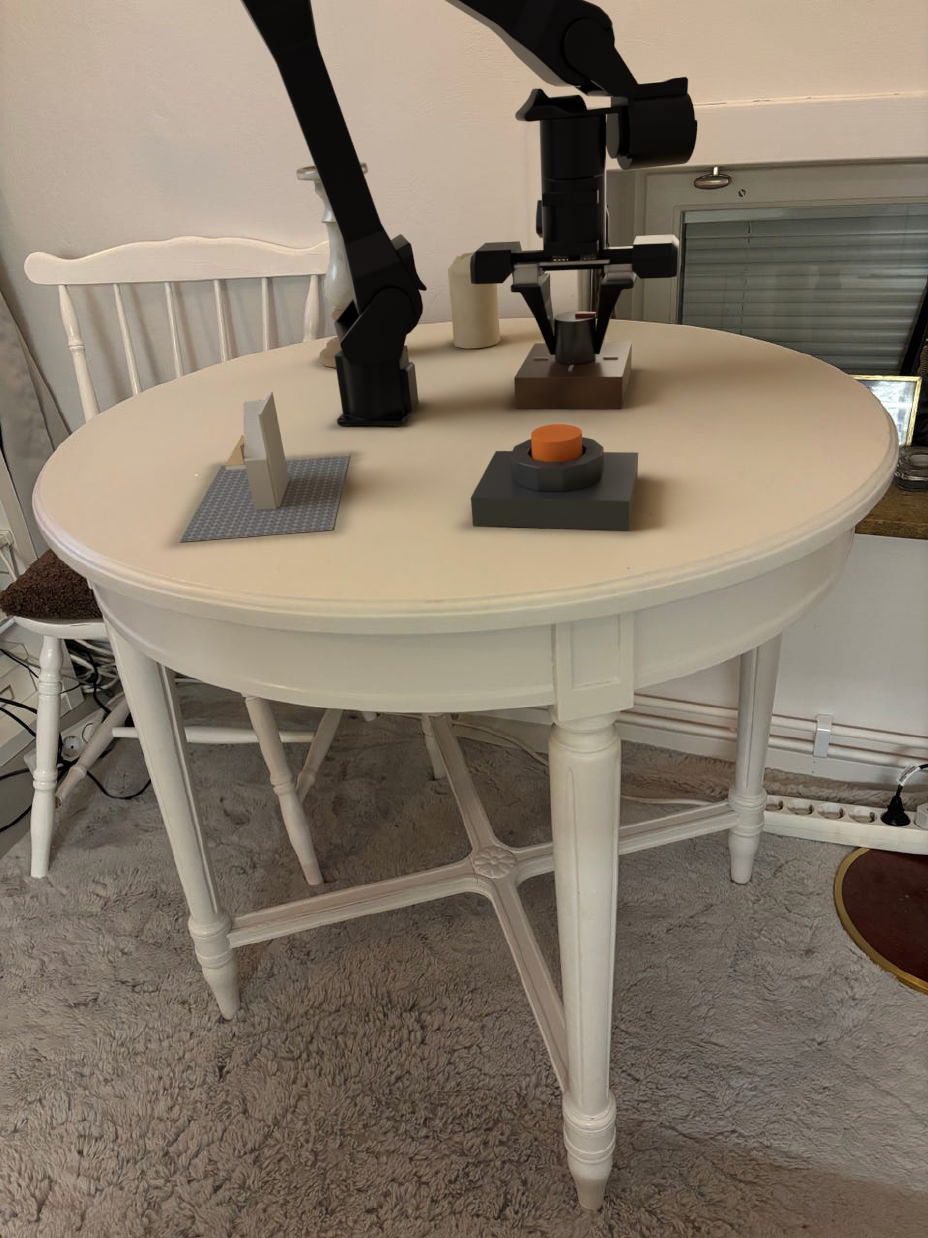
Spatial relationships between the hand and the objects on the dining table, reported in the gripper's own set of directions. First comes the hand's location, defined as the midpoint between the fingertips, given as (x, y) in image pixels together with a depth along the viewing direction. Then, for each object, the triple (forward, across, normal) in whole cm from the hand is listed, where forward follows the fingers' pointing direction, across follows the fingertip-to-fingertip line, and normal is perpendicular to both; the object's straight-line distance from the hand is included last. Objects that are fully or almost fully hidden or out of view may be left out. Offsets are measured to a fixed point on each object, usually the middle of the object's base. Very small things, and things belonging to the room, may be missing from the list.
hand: (575, 353), depth 88 cm
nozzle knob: (0, 0, 0) cm, 0 cm away
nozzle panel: (+4, 0, 0) cm, 4 cm away
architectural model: (+4, +21, +27) cm, 34 cm away
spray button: (0, -2, +27) cm, 27 cm away
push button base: (+4, -2, +27) cm, 27 cm away
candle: (+4, +14, -18) cm, 23 cm away
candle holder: (+4, +27, -12) cm, 30 cm away
